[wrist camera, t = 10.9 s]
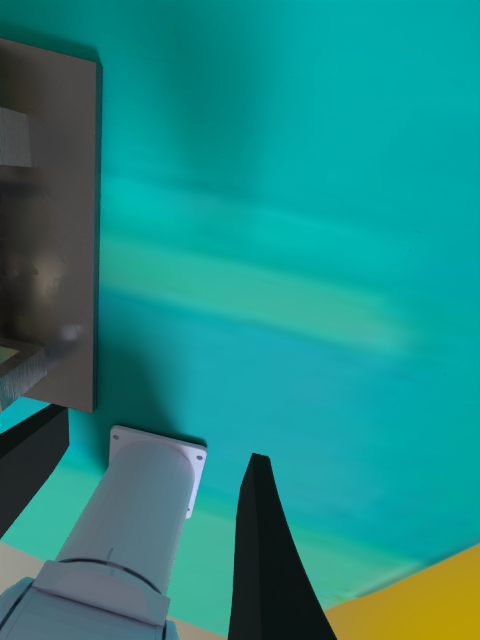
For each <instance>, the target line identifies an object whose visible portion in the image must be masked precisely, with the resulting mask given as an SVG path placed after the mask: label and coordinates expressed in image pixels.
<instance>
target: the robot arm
mask: <svg viewBox="0 0 480 640" xmlns="http://www.w3.org/2000/svg"><path fill="white" fill-rule="evenodd" d="M68 447H69V421H68V407H65V406H60V405H56V404H51V405H49V406H47V407H45V408H44V409H42V410H40V411H39V412H37V413H35V414H33V415H32V416H30V417H28V418H27V419H25V420H23V421H22V422H20V423H18V424H17V425H15V426H13V427H12V428H10V429H8V430H6V431H5V432H3V433H1V434H0V539H1V538H2V536H3V535H4V534H5V533H6V531H7V530H8V529H9V527H10V526H11V525H12V524H13V522H14V521H15V520H16V518H17V517H18V516H19V515H20V513H21V512H22V511H23V510H24V508H25V507H26V506H27V504H28V503H29V502H30V501H31V499H32V498H33V497H34V496H35V494H36V493H37V492H38V490H39V489H40V488H41V487H42V485H43V484H44V483H45V481H46V480H47V479H48V478H49V476H50V475H51V474H52V472H53V471H54V469H55V468H56V466H57V464H58V463H59V461H60V460H61V458H62V456H63V455H64V453H65V452H66V450H67V448H68ZM206 455H207V449H206V448H205V447H204V446H201V445H197V444H193V443H189V442H185V441H180V440H176V439H172V438H168V437H164V436H160V435H156V434H152V433H148V432H144V431H140V430H136V429H131V428H127V427H123V426H119V425H115V426H113V427H112V429H111V432H110V453H109V467H108V468H107V470H106V472H105V474H104V475H103V477H102V479H101V481H100V482H99V484H98V486H97V488H96V489H95V491H94V493H93V494H92V496H91V498H90V500H89V501H88V503H87V505H86V507H85V508H84V510H83V512H82V514H81V515H80V517H79V519H78V521H77V522H76V524H75V526H74V527H73V529H72V531H71V533H70V534H69V536H68V538H67V540H66V541H65V543H64V545H63V547H62V548H61V550H60V552H59V554H58V555H57V557H56V559H55V560H54V561H51V560H47V561H46V562H45V564H44V566H43V567H42V569H41V571H40V573H39V574H38V576H37V577H36V579H33V578H30V577H25V578H23V579H21V580H20V581H19V582H17V583H16V584H15V585H13V586H11V587H10V588H8V589H7V590H5V591H4V592H3V593H2V594H1V595H0V640H179V638H178V635H177V632H176V625H175V623H174V622H173V621H169V620H166V616H167V612H168V608H169V604H170V598H169V597H166V593H167V589H168V585H169V581H170V577H171V573H172V569H173V565H174V561H175V557H176V553H177V550H178V546H179V542H180V538H181V534H182V530H183V526H184V522H185V519H188V518H190V517H191V513H192V510H193V506H194V502H195V498H196V494H197V490H198V486H199V482H200V478H201V474H202V471H203V467H204V463H205V459H206ZM228 640H337V638H336V636H335V634H334V632H333V630H332V628H331V626H330V624H329V622H328V620H327V618H326V616H325V614H324V612H323V610H322V608H321V606H320V604H319V601H318V599H317V597H316V595H315V593H314V590H313V588H312V586H311V584H310V581H309V579H308V577H307V574H306V572H305V570H304V567H303V565H302V562H301V560H300V557H299V555H298V552H297V549H296V547H295V544H294V541H293V539H292V536H291V533H290V530H289V527H288V524H287V521H286V518H285V515H284V512H283V509H282V505H281V502H280V499H279V495H278V492H277V488H276V484H275V480H274V476H273V472H272V467H271V462H270V458H269V457H268V456H264V455H260V454H256V453H252V456H251V458H250V461H249V464H248V467H247V470H246V473H245V475H244V478H243V481H242V484H241V487H240V494H239V501H238V508H237V515H236V533H235V554H234V576H233V595H232V608H231V616H230V625H229V633H228Z"/></svg>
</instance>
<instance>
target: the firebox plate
mask: <svg viewBox="0 0 480 640" xmlns="http://www.w3.org/2000/svg"><path fill="white" fill-rule="evenodd" d="M102 74H103V67H101V66H100V65H99V64H97V63H96V62H92V61H88V60H84V59H80V58H76V57H72V56H68V55H65V54H61V53H57V52H53V51H49V50H45V49H41V48H37V47H33V46H30V45H26V44H22V43H18V42H14V41H10V40H6V39H2V38H0V412H3V411H4V410H5V409H6V408H7V407H8V406H10V405H11V404H12V403H13V402H14V401H16V400H17V399H18V398H19V397H20V396H23V397H27V398H31V399H35V400H39V401H44V402H48V403H52V404H56V405H60V406H65V407H68V408H72V409H76V410H80V411H84V412H88V413H93V412H94V411H95V409H96V401H97V347H98V292H99V238H100V183H101V129H102Z"/></svg>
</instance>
